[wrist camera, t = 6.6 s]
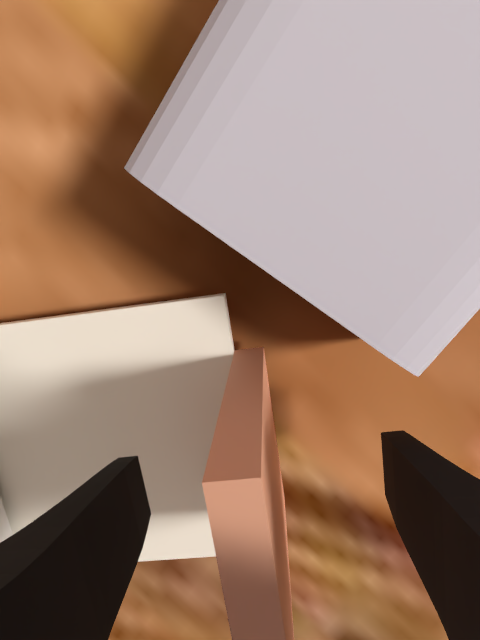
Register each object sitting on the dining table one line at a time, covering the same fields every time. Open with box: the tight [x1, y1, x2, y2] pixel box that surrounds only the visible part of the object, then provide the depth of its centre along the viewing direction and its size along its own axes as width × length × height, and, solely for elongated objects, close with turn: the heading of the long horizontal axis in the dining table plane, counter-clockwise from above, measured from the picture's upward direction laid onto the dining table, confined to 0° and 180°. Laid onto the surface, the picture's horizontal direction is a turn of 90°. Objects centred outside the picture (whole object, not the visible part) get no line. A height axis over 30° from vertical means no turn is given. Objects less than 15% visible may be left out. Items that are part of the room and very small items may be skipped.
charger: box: [124, 0, 480, 377], centre depth 10 cm, size 5×9×15 cm
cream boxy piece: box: [0, 293, 294, 640], centre depth 11 cm, size 12×10×7 cm
